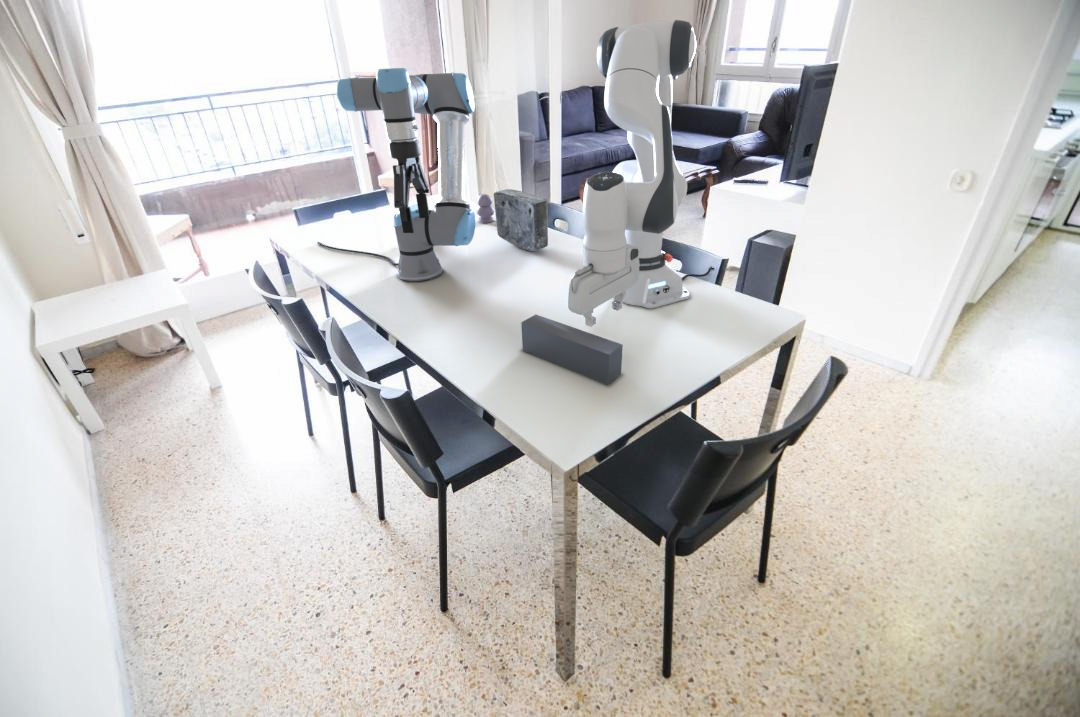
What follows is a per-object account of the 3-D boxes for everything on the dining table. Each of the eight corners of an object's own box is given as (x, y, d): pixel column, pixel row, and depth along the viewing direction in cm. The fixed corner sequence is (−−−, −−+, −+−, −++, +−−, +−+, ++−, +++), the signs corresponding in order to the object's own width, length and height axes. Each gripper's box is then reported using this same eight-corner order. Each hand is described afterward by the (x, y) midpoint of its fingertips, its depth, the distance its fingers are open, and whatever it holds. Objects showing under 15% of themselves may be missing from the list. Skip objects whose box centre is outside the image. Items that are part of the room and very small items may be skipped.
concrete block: (553, 252, 189) (552, 199, 179) (534, 258, 185) (532, 204, 175) (514, 236, 208) (511, 187, 198) (496, 241, 204) (492, 191, 193)
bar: (522, 350, 128) (521, 322, 124) (536, 342, 132) (535, 314, 127) (607, 385, 113) (609, 354, 109) (621, 374, 117) (622, 344, 113)
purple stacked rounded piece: (498, 220, 229) (496, 193, 223) (486, 224, 225) (483, 197, 218) (486, 217, 234) (484, 191, 228) (473, 221, 230) (471, 194, 223)
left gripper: (400, 148, 112) (415, 239, 123) (432, 132, 133) (443, 212, 144) (368, 148, 113) (386, 239, 124) (405, 133, 134) (418, 212, 145)
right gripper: (583, 277, 94) (584, 340, 102) (645, 246, 106) (642, 304, 114) (559, 269, 98) (562, 330, 106) (621, 240, 110) (620, 296, 117)
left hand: (417, 225), depth 134 cm, fingers open, 13 cm apart
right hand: (604, 316), depth 110 cm, fingers open, 8 cm apart
